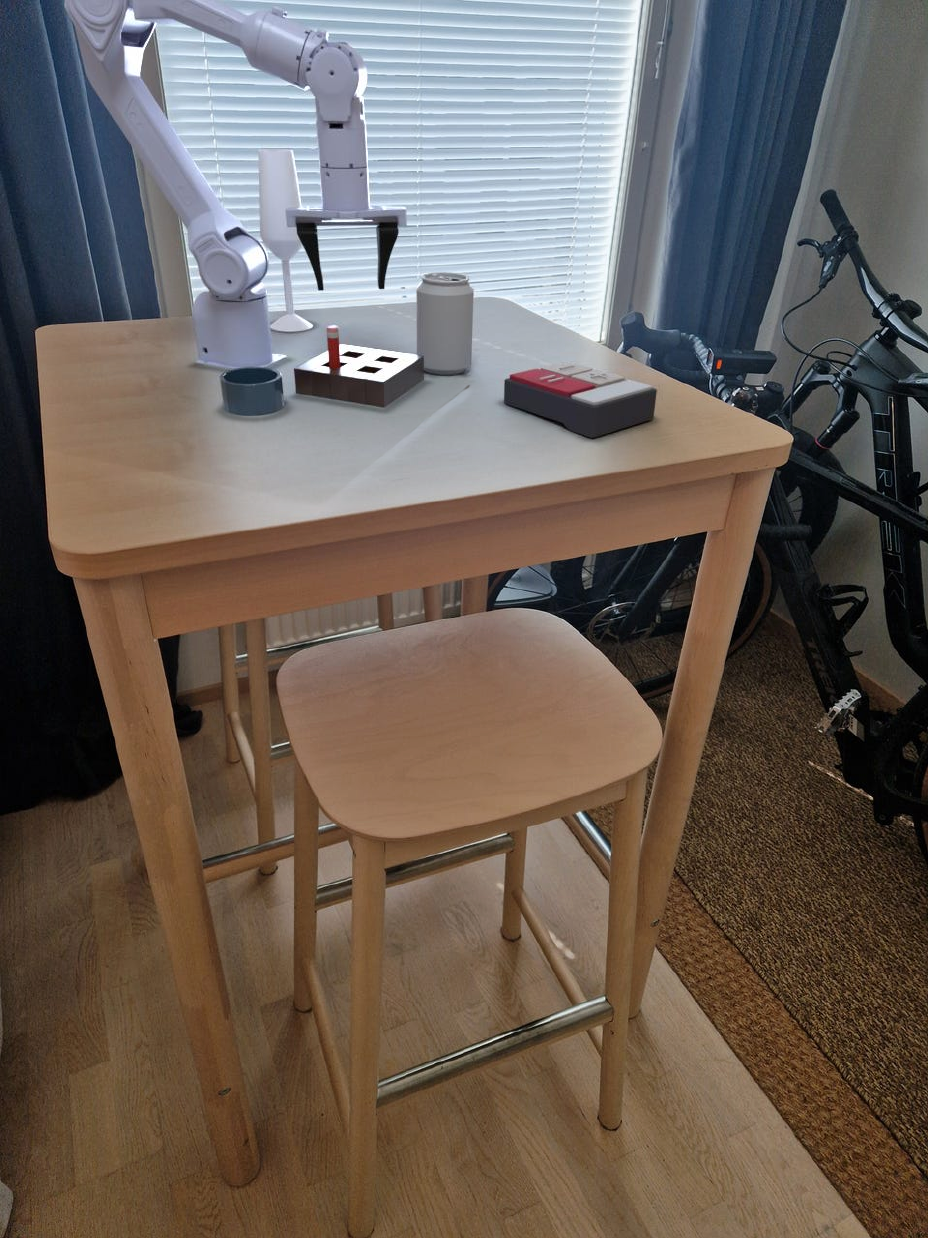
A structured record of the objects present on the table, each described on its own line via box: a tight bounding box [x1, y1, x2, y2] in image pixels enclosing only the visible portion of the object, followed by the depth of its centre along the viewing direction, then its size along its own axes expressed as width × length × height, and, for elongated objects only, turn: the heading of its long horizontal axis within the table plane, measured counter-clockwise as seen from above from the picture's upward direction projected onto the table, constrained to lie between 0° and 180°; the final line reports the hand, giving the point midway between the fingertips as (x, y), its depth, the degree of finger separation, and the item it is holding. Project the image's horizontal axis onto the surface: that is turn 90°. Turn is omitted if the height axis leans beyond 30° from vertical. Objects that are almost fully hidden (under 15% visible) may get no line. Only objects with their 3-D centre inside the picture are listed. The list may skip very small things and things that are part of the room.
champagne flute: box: [258, 148, 314, 333], centre depth 119 cm, size 7×7×24 cm
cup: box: [219, 367, 285, 417], centre depth 93 cm, size 7×7×4 cm
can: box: [416, 271, 475, 376], centre depth 106 cm, size 8×8×12 cm
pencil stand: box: [293, 343, 425, 409], centre depth 100 cm, size 12×12×4 cm
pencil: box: [326, 324, 341, 369], centre depth 98 cm, size 1×1×8 cm
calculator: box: [503, 361, 658, 439], centre depth 96 cm, size 11×4×15 cm
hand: (351, 288), depth 102 cm, fingers open, 7 cm apart
